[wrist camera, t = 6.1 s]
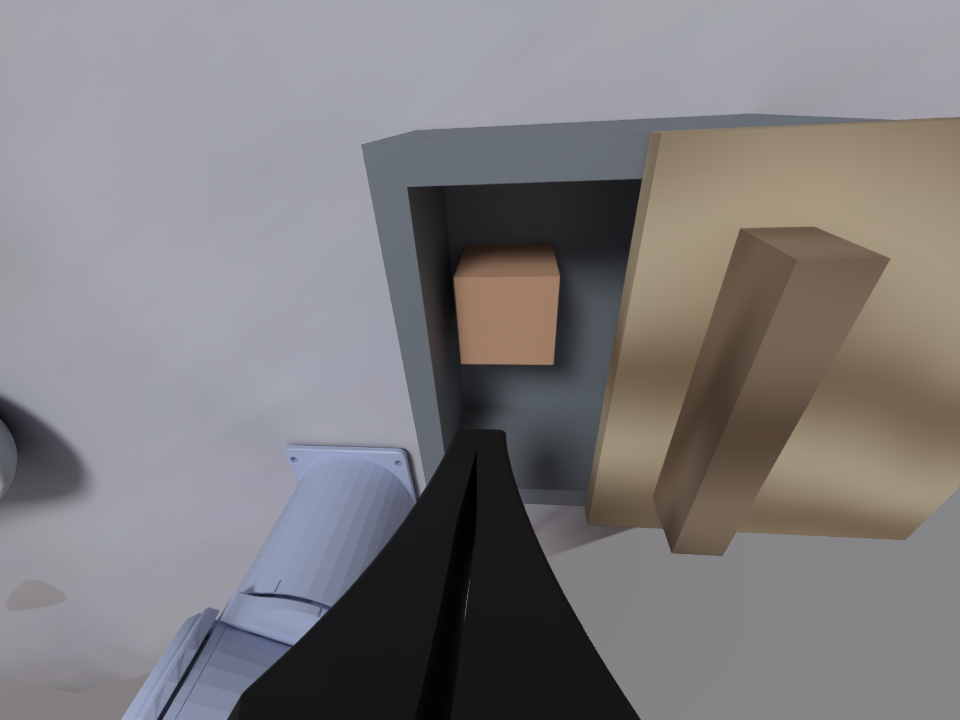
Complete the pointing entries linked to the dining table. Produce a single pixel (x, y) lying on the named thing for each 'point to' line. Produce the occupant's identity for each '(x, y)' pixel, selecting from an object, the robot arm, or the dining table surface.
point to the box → (516, 279)
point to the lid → (787, 336)
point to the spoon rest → (6, 459)
